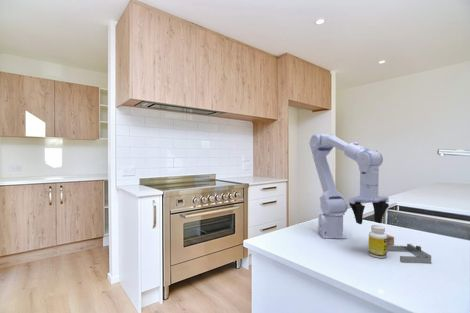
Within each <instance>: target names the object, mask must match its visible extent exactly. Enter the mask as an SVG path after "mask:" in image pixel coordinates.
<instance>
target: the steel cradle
mask: <svg viewBox="0 0 470 313" xmlns="http://www.w3.org/2000/svg"><path fill="white" fill-rule="evenodd" d="M387 252H409V253H411V254H412V255H411V256H409V255H400V256H399V262H401V263H410V264H412V263H415V264H416V263H417V264H432V255H431V254H429V253H427V252H426V251H423V250H422V246H420V245H415V246H414V245H413V244H411V243H407V244H406V245H387ZM413 255H414V256H413Z"/></svg>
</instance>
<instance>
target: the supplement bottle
mask: <svg viewBox="0 0 470 313" xmlns="http://www.w3.org/2000/svg"><path fill="white" fill-rule="evenodd" d="M370 228H371V229H370V230H371V231H369V232H368V246H367V247H368V249H367V251H368V252H367V253H368V255H370V256H371V257H373V258H378V259H386V258H387V255H388V254H387V252H388V251H387V235H388V234H387V235H386V233H385V232H386V227H384V226H382V225H378V224H372V225H371V227H370Z"/></svg>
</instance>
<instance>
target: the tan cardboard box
mask: <svg viewBox="0 0 470 313" xmlns="http://www.w3.org/2000/svg"><path fill="white" fill-rule="evenodd" d="M385 234H386V233H385ZM386 235H387V245H390V246H395V236H393V235H390V234H386Z"/></svg>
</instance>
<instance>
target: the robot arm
mask: <svg viewBox="0 0 470 313" xmlns="http://www.w3.org/2000/svg"><path fill="white" fill-rule="evenodd" d="M308 144H309V146H310V150H311V153H312V158H313V162H314V165H315V169H316V172H317V175H318V178H319V182H320V186H321V189H322V194H321V196H320V197H319V200H320V209H321V212H322V213H321V214H319V215H318V217H317V218H318V220H317V221H318V225H317V226H318V229H317V232H318V234H319V235H320V236H321V238H323V239H341V240H342V239H348V238H347V236H346V235H345V234H344V215H345V213H346V212H347V211H348V209H349V206H350V208H351V211H352V212H353V215H354V218H355V219H354V220H355V223H356V224H359V225H362V224H363V216H364V210H365V208H366V206H365V205H364V204H367V203H368V204H369V203H370V204H372V207H373V215H374V222H375V223H378V224H381V223H382V220H383V217H384V214H385V213H386V211H387V209H388V208H389V205H390V204H389V196H385V195H382V196H381V195H379V174H380V173H379V170H380V168H379V167H380V166H381V165H382V164H383V161H384V157H383V155H382V153H380V152H379V151H378V150H370V148H369V147H364V146H362V145H360V143H359V142H355V141H353V142H350V143H348V142H346V141H345V140H343V139H341V138H339V137H338V136H337V135H335V134H319V133H314V134H312V135H311V137H310V139H309V142H308ZM334 148H336V149H338V150H340V151H342V152H343V153H344V154H343V155H344V156H346V157H347V158H349V159H351V160H353V161H355V162H356V163H357V165H358V171H359V172H360V174H359V175H360V176H359V195H358V196H349V197H348V201H347V200H346V199H345V197H344V195H343V193H342V192H340V191H338V189H337V187H336V184H335V181H334V177H333V175H332V170H331V169H330V165H329V161H328V160H327V156H328V155H330V153H331V152H332V150H333V149H334ZM348 203H349V204H348Z"/></svg>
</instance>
